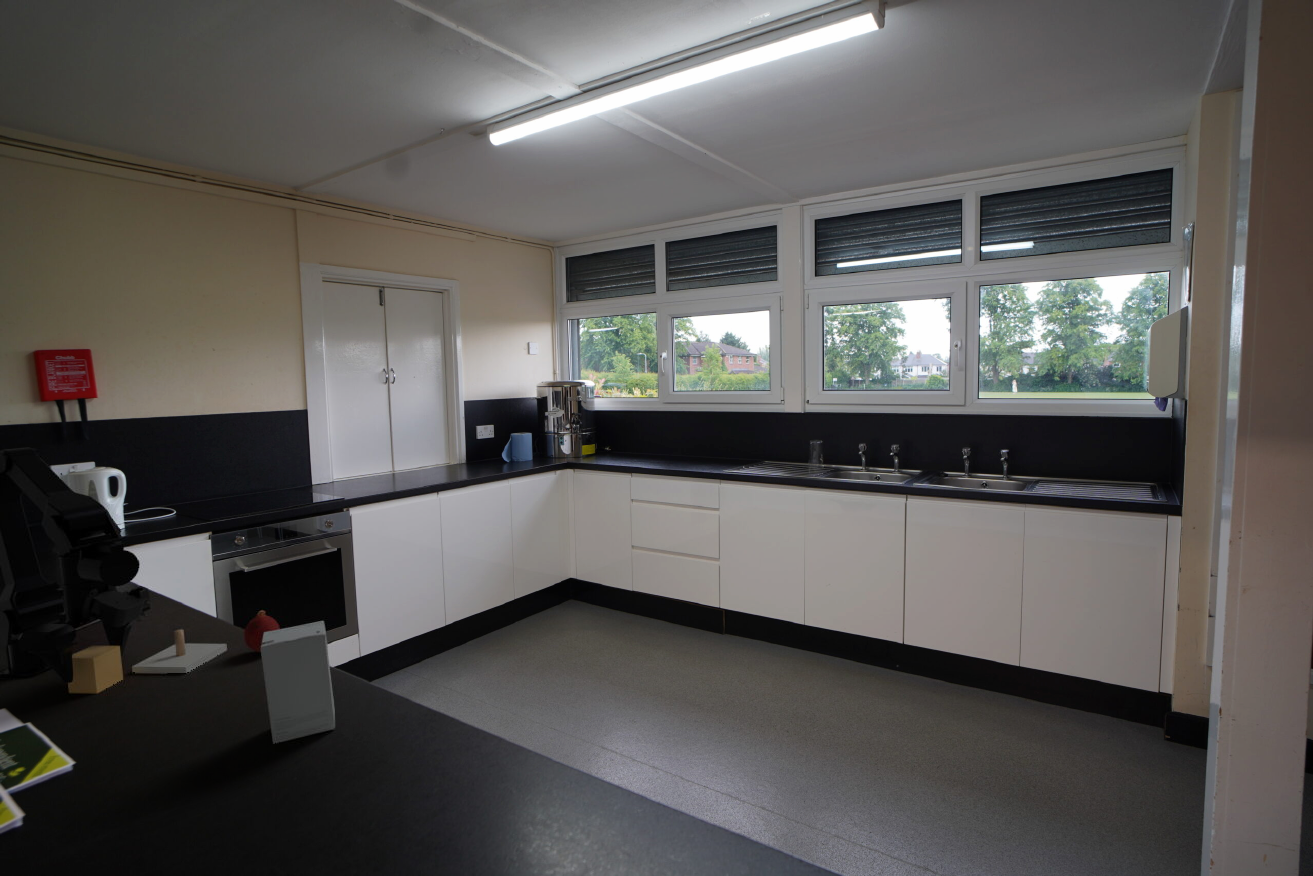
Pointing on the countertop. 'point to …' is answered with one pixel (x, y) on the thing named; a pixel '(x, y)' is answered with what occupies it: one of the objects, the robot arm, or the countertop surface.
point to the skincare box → (298, 681)
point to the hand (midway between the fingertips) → (94, 669)
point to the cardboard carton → (96, 669)
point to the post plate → (179, 657)
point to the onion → (259, 630)
